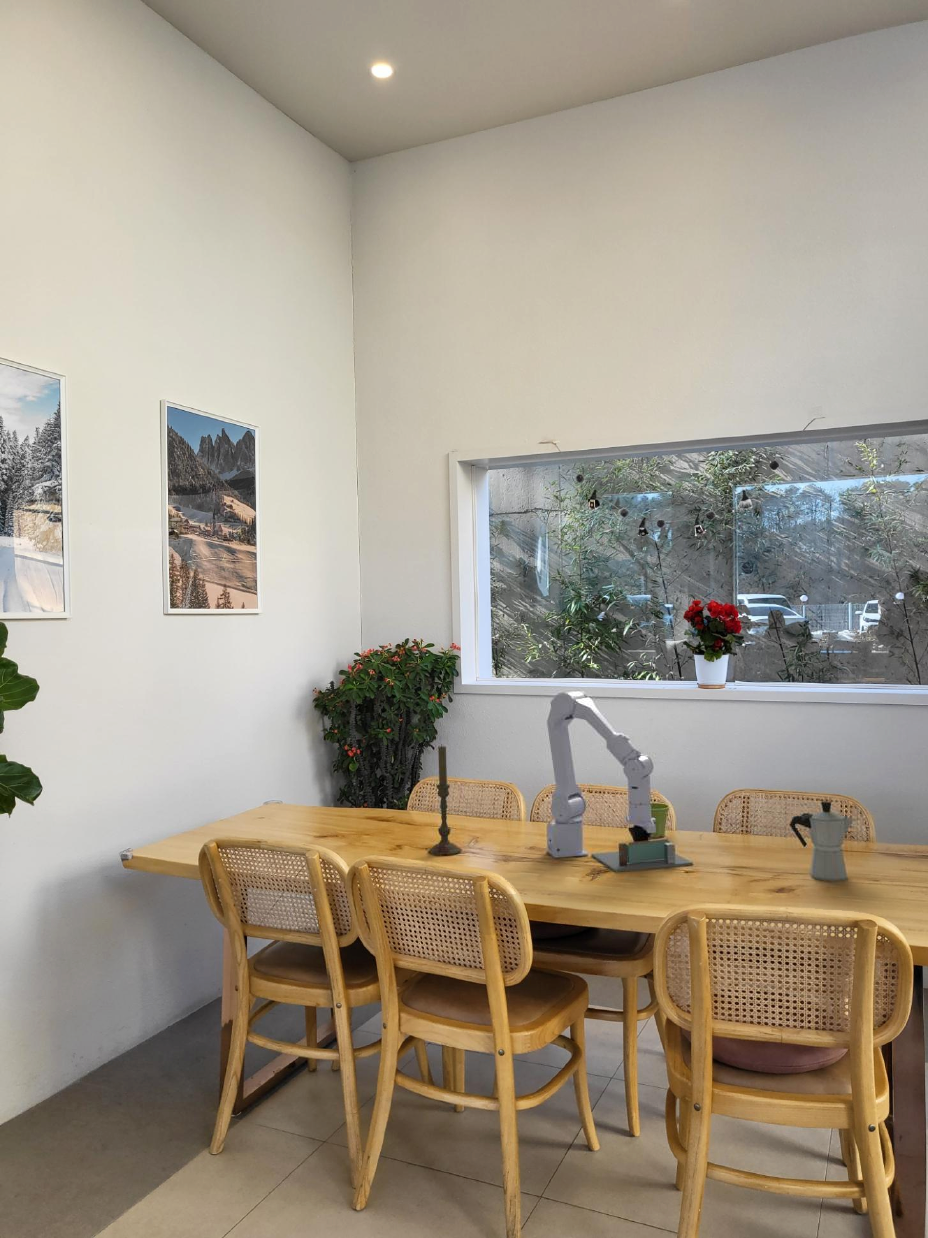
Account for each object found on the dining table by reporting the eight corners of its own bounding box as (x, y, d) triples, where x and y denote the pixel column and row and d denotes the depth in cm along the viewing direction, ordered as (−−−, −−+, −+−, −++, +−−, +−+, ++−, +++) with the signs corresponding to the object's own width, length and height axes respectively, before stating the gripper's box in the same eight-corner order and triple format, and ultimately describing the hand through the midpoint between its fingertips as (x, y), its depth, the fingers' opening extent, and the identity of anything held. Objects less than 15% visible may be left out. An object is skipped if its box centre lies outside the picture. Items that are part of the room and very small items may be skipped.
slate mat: (615, 872, 234) (615, 869, 234) (591, 856, 250) (591, 853, 250) (692, 865, 239) (692, 862, 239) (664, 849, 255) (664, 847, 255)
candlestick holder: (423, 855, 257) (420, 745, 257) (435, 847, 265) (432, 741, 265) (454, 857, 254) (451, 746, 254) (466, 849, 262) (463, 742, 262)
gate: (629, 863, 238) (628, 843, 238) (626, 862, 239) (626, 842, 239) (669, 858, 242) (669, 838, 242) (667, 857, 243) (666, 837, 243)
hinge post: (621, 868, 237) (620, 845, 237) (618, 866, 239) (617, 843, 239) (628, 868, 237) (627, 844, 237) (625, 866, 239) (624, 842, 239)
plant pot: (670, 839, 267) (669, 809, 267) (637, 839, 269) (636, 808, 269) (670, 832, 276) (669, 802, 276) (637, 831, 278) (637, 802, 278)
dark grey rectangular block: (668, 866, 238) (667, 845, 238) (664, 864, 240) (664, 843, 240) (675, 865, 238) (674, 844, 238) (671, 864, 240) (671, 842, 240)
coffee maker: (853, 872, 228) (851, 798, 228) (860, 882, 219) (857, 805, 219) (788, 870, 231) (786, 797, 231) (793, 880, 222) (790, 804, 222)
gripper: (666, 806, 236) (667, 860, 236) (642, 796, 250) (643, 847, 250) (640, 808, 234) (641, 862, 234) (617, 798, 248) (619, 849, 248)
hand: (641, 855), depth 242 cm, fingers closed
